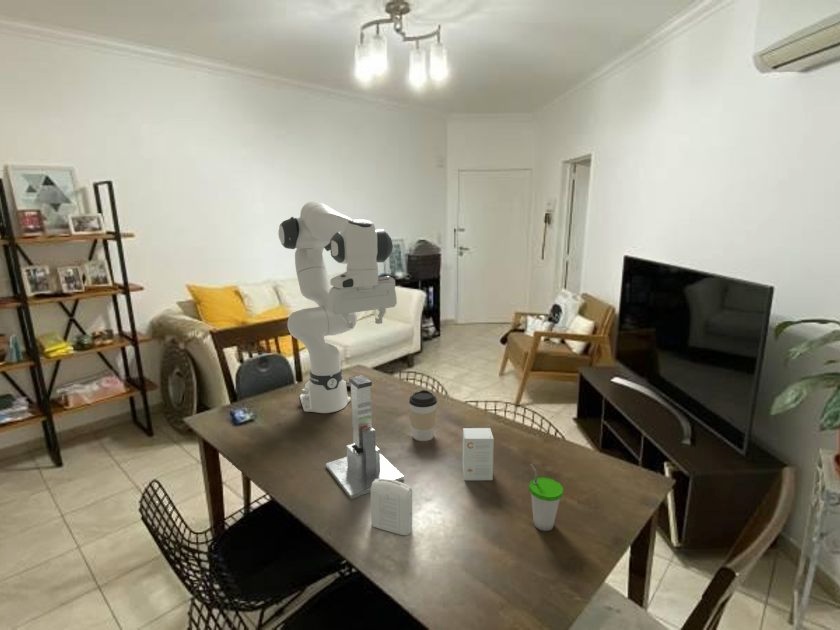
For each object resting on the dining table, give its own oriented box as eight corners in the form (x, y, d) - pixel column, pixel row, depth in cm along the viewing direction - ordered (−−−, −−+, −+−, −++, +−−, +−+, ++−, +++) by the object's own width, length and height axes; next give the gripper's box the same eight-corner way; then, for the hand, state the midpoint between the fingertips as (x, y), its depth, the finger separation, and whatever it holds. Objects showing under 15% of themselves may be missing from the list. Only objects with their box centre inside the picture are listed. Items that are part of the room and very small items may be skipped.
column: (351, 440, 129) (349, 377, 125) (364, 436, 131) (362, 374, 127) (360, 449, 124) (358, 384, 120) (373, 445, 126) (371, 381, 122)
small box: (489, 468, 132) (491, 427, 129) (492, 480, 126) (494, 438, 123) (461, 468, 132) (462, 427, 129) (463, 481, 126) (464, 438, 123)
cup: (567, 531, 106) (572, 474, 103) (539, 539, 104) (543, 482, 100) (547, 510, 113) (551, 457, 110) (520, 518, 111) (523, 463, 107)
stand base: (326, 466, 133) (323, 418, 129) (374, 451, 141) (373, 405, 138) (351, 499, 118) (348, 445, 115) (403, 479, 127) (402, 429, 123)
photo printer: (415, 526, 108) (414, 480, 105) (408, 538, 104) (407, 491, 101) (376, 516, 112) (375, 471, 109) (368, 527, 108) (366, 481, 105)
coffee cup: (434, 444, 146) (434, 400, 142) (406, 441, 147) (406, 398, 144) (438, 430, 154) (438, 389, 151) (412, 428, 156) (412, 387, 152)
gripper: (389, 273, 135) (390, 318, 139) (324, 280, 125) (327, 328, 128) (400, 276, 130) (400, 322, 133) (333, 283, 120) (335, 333, 123)
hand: (364, 325), depth 131 cm, fingers open, 8 cm apart
